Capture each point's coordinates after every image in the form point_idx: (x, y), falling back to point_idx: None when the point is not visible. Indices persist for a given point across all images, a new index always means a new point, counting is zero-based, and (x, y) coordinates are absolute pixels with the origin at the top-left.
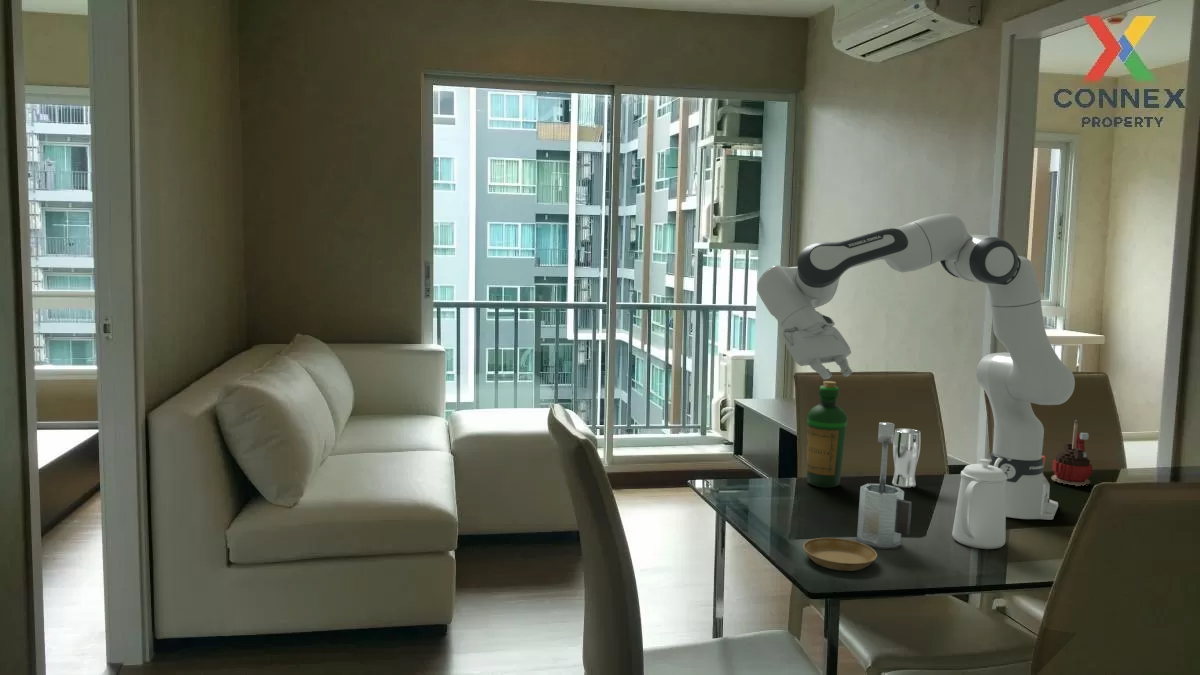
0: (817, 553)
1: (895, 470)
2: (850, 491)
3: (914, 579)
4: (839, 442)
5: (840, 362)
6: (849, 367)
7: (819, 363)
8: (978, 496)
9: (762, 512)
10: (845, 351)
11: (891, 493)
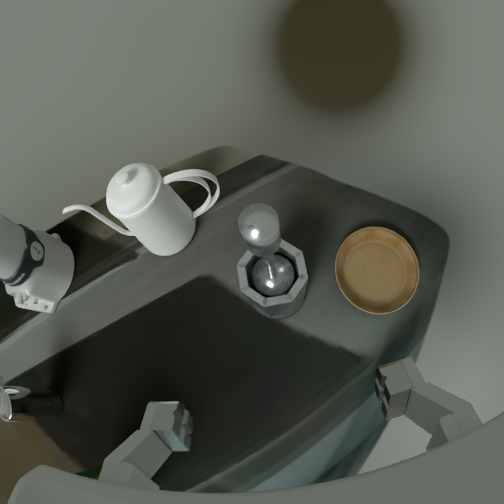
0: (383, 300)
1: (48, 411)
2: (121, 440)
3: (341, 195)
4: (89, 476)
5: (146, 477)
6: (144, 421)
7: (462, 402)
8: (169, 189)
9: (313, 459)
10: (76, 484)
11: (247, 273)
